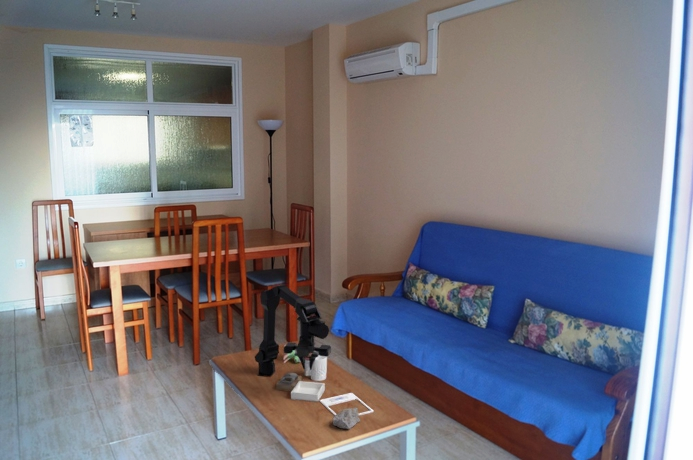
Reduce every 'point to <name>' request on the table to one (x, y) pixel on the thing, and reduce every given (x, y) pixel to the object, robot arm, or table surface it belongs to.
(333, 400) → the photo frame
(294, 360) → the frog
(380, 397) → the table surface
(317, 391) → the tray
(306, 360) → the pin
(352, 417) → the stone
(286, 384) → the block
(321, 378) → the white cup
